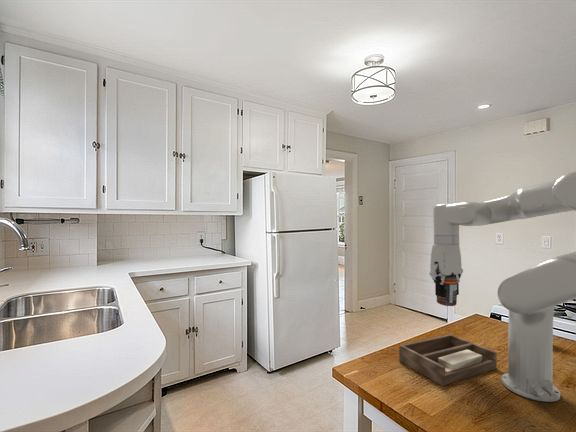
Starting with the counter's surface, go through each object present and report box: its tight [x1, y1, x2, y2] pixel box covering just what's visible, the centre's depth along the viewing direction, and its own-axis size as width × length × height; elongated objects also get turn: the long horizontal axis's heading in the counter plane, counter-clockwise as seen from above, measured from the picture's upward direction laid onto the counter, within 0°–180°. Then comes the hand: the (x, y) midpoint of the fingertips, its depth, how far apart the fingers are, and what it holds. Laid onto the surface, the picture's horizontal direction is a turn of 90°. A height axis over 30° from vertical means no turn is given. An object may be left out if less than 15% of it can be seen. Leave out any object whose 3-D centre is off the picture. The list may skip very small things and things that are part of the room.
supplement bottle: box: [436, 272, 458, 307], centre depth 100 cm, size 6×6×11 cm
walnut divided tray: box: [398, 333, 498, 386], centre depth 96 cm, size 16×24×5 cm, turn 114°
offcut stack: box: [437, 349, 482, 373], centre depth 92 cm, size 5×18×4 cm, turn 116°
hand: (447, 294), depth 100 cm, fingers closed on supplement bottle, 6 cm apart
